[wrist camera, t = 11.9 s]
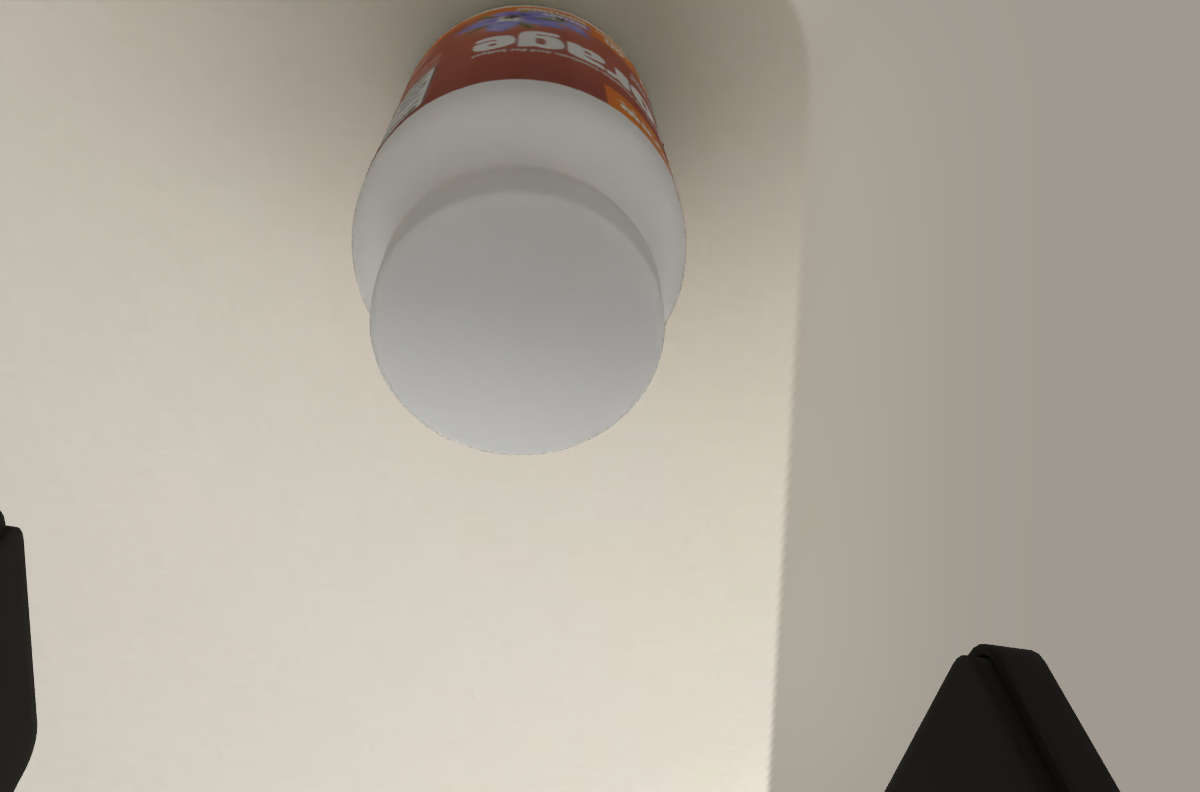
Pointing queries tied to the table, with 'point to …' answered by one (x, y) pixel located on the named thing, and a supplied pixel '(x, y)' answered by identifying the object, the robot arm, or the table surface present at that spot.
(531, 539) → the table surface
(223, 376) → the table surface
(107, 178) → the table surface
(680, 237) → the pill bottle
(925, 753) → the robot arm
